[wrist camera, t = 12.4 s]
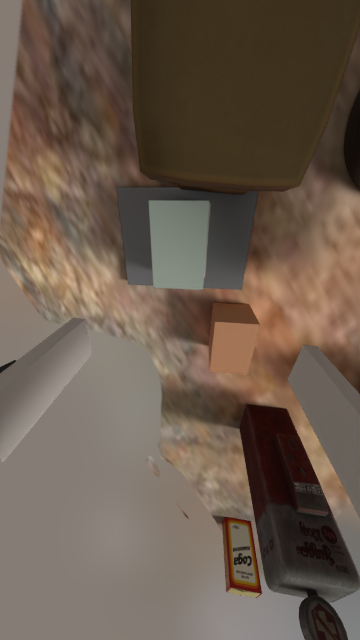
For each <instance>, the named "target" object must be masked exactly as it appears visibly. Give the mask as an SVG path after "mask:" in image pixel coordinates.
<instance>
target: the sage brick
mask: <svg viewBox="0 0 360 640" xmlns="http://www.w3.org/2000/svg"><path fill="white" fill-rule="evenodd" d="M208 213H209V201H153V200H149V216H150V234H151V251H152V269H153V287H154V288H175V289H196V290H203V284H204V270H205V255H206V241H207V227H208Z"/></svg>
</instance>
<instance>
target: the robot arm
mask: <svg viewBox="0 0 360 640" xmlns="http://www.w3.org/2000/svg"><path fill="white" fill-rule="evenodd" d="M344 154H345V162H346V167H347V170H348V172H349V175H350V177H351V179H352V180H353V182H354V183H355V184H356V186H357V187H358V188H359V189H360V92H359V94H358V96H357V98H356V100H355V103H354V105H353V108H352V111H351V114H350V117H349V120H348V124H347V129H346V134H345V143H344ZM91 355H92V352H91V347H90V342H89V336H88V331H87V325H86V320H85V319H80V318H73V319H71V320H70V321H69V322H67V323H66V324H65V325H63V326H62V327H61V328H59V329H58V330H57V331H56V332H54V333H53V334H52V335H50V336H49V337H48V338H46V339H45V340H44V341H42V342H41V343H40V344H38V345H37V346H36V347H34V348H33V349H32V350H31V351H29V352H28V353H27V354H25V355H24V356H23V357H21V358H20V359H19V360H17V361H16V360H14V361H12V362H10V363H8V364H6V365H4V366H1V367H0V462H4V460H5V459H6V458H7V457H8V456H9V454H10V453H11V452H12V451H13V450H14V448H15V447H16V446H17V444H19V442H20V441H21V440H22V439H23V437H24V436H25V435H26V434H27V432H28V431H29V430H30V429H31V428H32V426H33V425H34V424H35V423H36V422H37V420H38V419H39V418H40V417H41V416H42V414H43V413H44V412H45V411H46V410H47V408H48V407H49V406H50V404H51V403H52V402H53V401H54V400H55V399H56V397H57V396H58V395H59V394H60V392H61V391H62V390H63V389H64V388H65V386H66V385H67V384H68V383H69V382H70V380H71V379H72V378H73V377H74V375H75V374H76V373H77V372H78V370H79V369H80V368H81V367H82V366H83V364H84V363H85V362H86V361H87V360H88V358H89V357H90V356H91ZM287 380H288V382H289V384H290V386H291V388H292V389H293V391H294V393H295V395H296V397H297V399H298V401H299V403H300V405H301V407H302V409H303V410H304V412H305V414H306V416H307V418H308V420H309V422H310V424H311V426H312V428H313V430H314V431H315V433H316V435H317V437H318V439H319V441H320V443H321V445H322V447H323V449H324V451H325V452H326V454H327V456H328V458H329V460H330V462H331V464H332V466H333V468H334V470H335V472H336V473H337V475H338V477H339V479H340V481H341V483H342V485H343V487H344V489H345V491H346V493H347V494H348V496H349V498H350V500H351V502H352V504H353V506H354V508H355V510H356V512H357V513H358V515H359V517H360V394H359V393H358V392H357V390H356V389H355V388H354V387H353V386H352V385H351V384H350V383H349V382H348V380H347V379H346V378H345V377H344V376H343V375H342V374H341V373H340V371H339V370H338V369H337V368H336V367H335V366H334V365H333V364H332V363H331V361H330V360H329V359H328V358H327V357H326V356H325V355H324V354H323V352H322V351H321V350H320V349H319V348H318V347H317V346H309V345H303V347H302V349H301V351H300V353H299V356H298V358H297V360H296V362H295V364H294V366H293V369H292V371H291V373H290V375H289V377H288V379H287Z"/></svg>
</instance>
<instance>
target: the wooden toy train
mask: <svg viewBox="0 0 360 640" xmlns="http://www.w3.org/2000/svg"><path fill="white" fill-rule="evenodd" d="M359 27H360V0H131V30H132V83H133V114H134V122H135V131H136V139H137V147H138V155H139V164H140V171H141V172H142V173H143V174H145V175H146V176H147V177H149V178H150V179H153V180H159V181H165V182H171V183H177V184H178V186H179V187H180V189H182V190H193V191H203V192H213V193H224V194H234V195H243V194H245V193H247V192H248V191H286V190H289V189H291V188H294V187H297V186H299V185H300V183H301V181H302V178H303V176H304V174H305V172H306V170H307V167H308V165H309V163H310V161H311V159H312V156H313V154H314V152H315V150H316V148H317V145H318V143H319V141H320V139H321V136H322V134H323V132H324V130H325V128H326V125H327V123H328V120H329V117H330V114H331V111H332V108H333V105H334V102H335V99H336V96H337V93H338V90H339V87H340V84H341V81H342V78H343V75H344V72H345V69H346V66H347V63H348V60H349V57H350V54H351V51H352V48H353V45H354V42H355V39H356V36H357V33H358V30H359Z"/></svg>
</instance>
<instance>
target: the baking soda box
mask: <svg viewBox="0 0 360 640" xmlns="http://www.w3.org/2000/svg"><path fill="white" fill-rule="evenodd" d="M222 527H223V543H224V561H225V578H226V592H229V593H233V594H237V595H241V596H242V595H244V596H250V597H254V598H257V597H259V596H260V595H261V594H262V591H261V585H260V579H259V572H258V565H257V559H256V552H255V546H254V539H253V532H252V526H251V521H246V520H241V519H235V518H229V517H225V518H224V520H223V523H222Z"/></svg>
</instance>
